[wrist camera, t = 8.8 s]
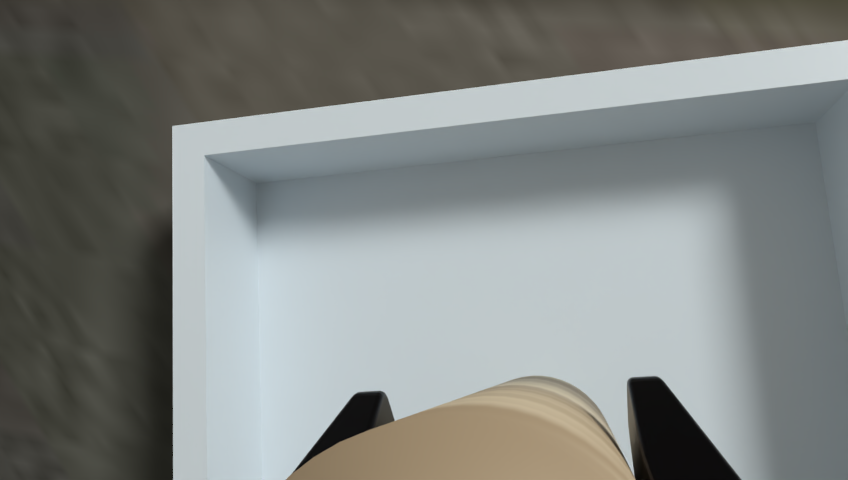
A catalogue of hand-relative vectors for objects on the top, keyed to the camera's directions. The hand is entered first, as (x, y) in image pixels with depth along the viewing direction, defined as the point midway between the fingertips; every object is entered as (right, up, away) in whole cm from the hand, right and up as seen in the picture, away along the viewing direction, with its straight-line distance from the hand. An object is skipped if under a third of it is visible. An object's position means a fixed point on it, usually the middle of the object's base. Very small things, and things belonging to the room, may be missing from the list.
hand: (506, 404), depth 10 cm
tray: (+2, -3, +8) cm, 9 cm away
